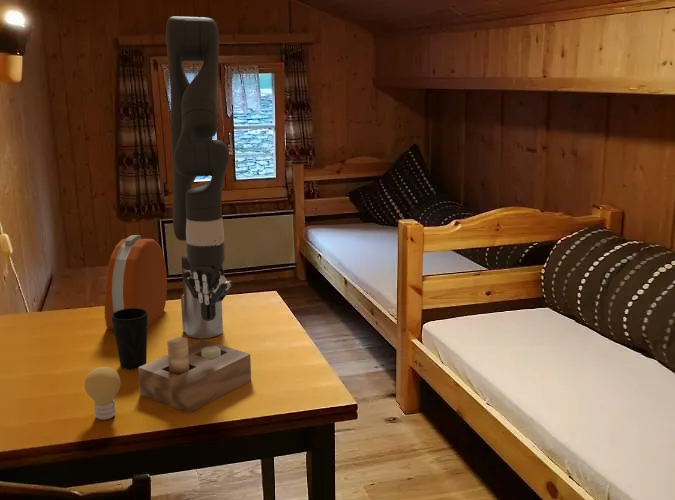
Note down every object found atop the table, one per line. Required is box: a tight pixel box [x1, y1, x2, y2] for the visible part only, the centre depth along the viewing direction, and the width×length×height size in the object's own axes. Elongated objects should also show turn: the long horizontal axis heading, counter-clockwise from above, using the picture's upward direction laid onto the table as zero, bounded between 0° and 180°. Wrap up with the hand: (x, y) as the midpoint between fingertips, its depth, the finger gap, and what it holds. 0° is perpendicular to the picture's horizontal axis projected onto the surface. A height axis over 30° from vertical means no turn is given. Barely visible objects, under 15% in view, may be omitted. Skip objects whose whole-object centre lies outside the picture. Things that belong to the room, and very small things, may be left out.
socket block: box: [137, 339, 252, 414], centre depth 146 cm, size 14×18×6 cm
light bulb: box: [84, 366, 121, 421], centre depth 134 cm, size 6×6×10 cm
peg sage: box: [201, 346, 221, 360], centre depth 150 cm, size 4×4×7 cm
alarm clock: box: [104, 234, 168, 330], centre depth 183 cm, size 22×10×23 cm, turn 172°
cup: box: [111, 308, 148, 370], centre depth 157 cm, size 8×8×12 cm
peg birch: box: [166, 336, 189, 375], centre depth 142 cm, size 4×4×7 cm
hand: (208, 319), depth 147 cm, fingers closed
